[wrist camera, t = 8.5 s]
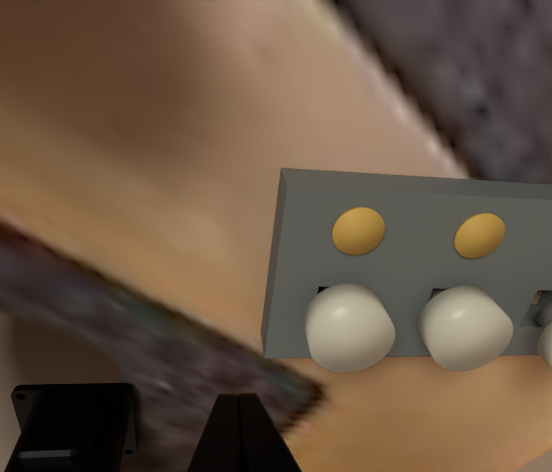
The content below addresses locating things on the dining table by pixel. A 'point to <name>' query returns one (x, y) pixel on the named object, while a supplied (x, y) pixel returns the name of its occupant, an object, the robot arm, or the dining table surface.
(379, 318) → the button inner
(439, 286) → the board
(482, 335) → the button middle
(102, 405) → the robot arm
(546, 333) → the white lever knob
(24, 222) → the dining table surface
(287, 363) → the dining table surface
